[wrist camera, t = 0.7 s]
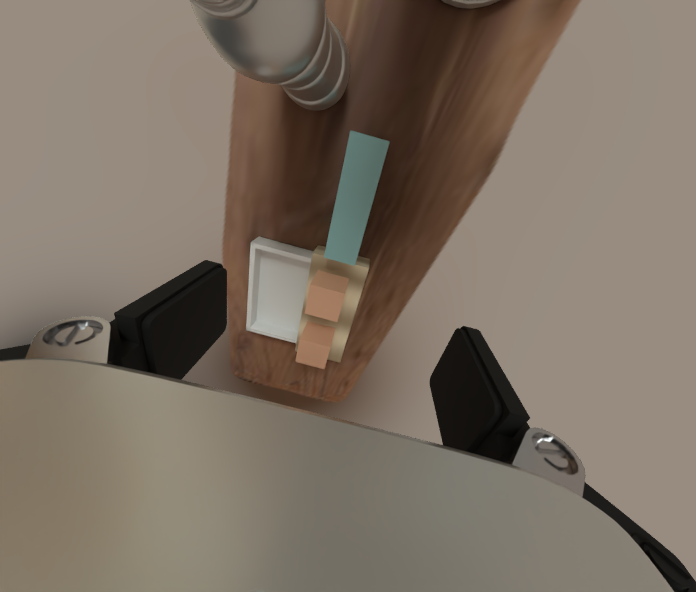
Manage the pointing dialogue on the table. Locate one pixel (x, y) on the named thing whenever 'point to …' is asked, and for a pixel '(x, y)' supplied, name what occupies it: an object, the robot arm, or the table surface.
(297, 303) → the tray
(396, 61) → the table surface
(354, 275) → the beige gold flat block
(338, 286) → the tan cube
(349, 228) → the bar
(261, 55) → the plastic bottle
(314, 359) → the peach cube
